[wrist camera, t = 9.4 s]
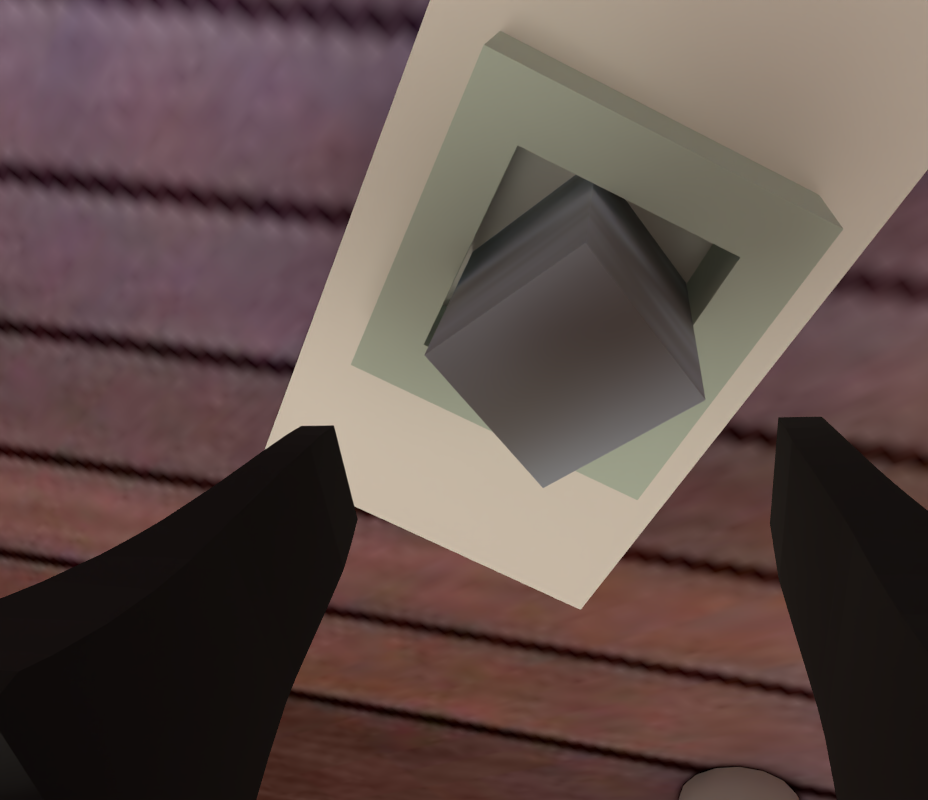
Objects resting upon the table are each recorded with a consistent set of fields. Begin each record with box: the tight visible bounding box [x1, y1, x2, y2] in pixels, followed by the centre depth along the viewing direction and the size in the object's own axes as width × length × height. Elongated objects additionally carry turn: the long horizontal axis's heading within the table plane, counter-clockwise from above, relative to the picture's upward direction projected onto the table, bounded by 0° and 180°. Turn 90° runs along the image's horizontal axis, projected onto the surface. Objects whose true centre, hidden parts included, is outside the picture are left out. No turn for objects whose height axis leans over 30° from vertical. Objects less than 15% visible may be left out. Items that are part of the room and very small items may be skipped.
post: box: [425, 175, 705, 488], centre depth 18 cm, size 4×4×6 cm
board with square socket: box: [265, 0, 928, 610], centre depth 20 cm, size 12×22×4 cm, turn 156°
